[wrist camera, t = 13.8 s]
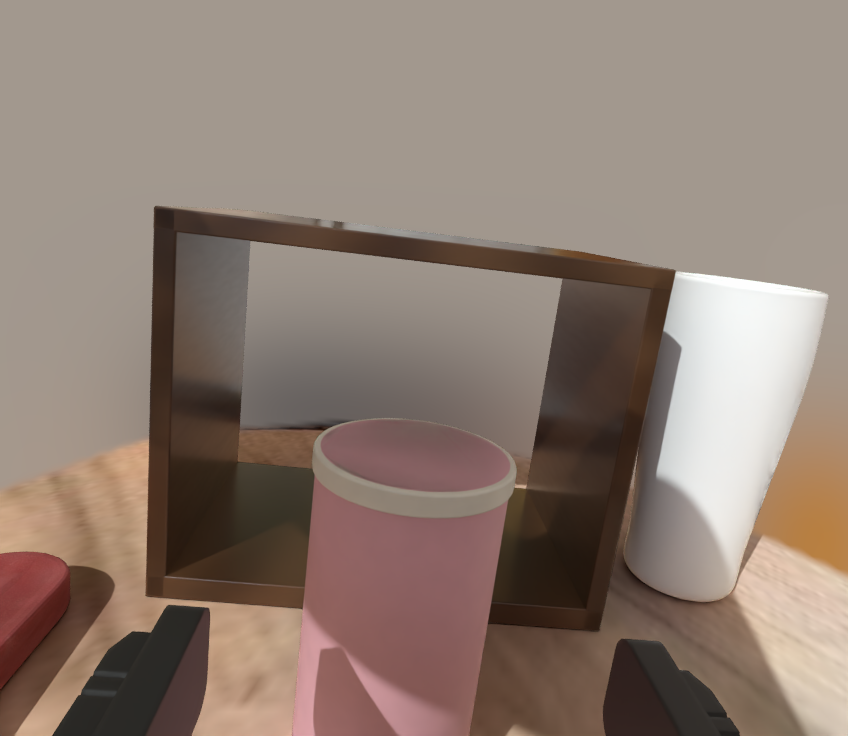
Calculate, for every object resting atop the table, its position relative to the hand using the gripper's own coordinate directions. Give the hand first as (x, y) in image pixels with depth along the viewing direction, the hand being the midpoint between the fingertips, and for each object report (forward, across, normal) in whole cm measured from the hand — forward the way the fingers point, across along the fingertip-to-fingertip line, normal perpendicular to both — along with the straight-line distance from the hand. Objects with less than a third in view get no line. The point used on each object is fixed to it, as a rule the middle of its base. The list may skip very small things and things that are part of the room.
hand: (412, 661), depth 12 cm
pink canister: (+5, 0, +8) cm, 9 cm away
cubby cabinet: (+18, 0, +8) cm, 20 cm away
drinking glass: (+17, -15, +8) cm, 24 cm away
